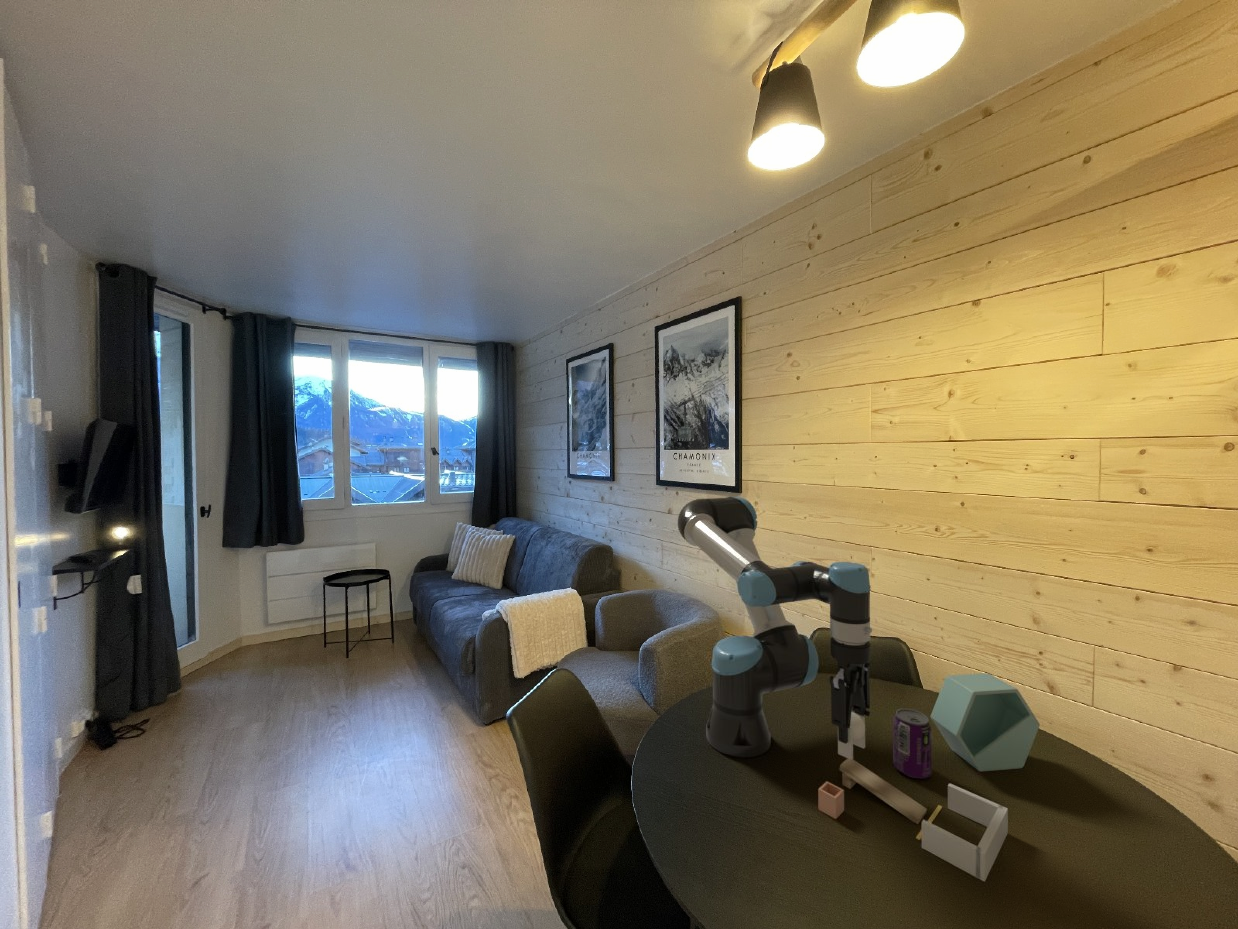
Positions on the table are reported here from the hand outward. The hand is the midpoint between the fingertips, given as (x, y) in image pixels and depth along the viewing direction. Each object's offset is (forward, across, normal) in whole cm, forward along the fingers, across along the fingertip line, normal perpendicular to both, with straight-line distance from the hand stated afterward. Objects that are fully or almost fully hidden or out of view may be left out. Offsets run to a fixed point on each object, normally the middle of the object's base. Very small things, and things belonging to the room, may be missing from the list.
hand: (851, 750), depth 101 cm
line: (+7, 0, -14) cm, 16 cm away
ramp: (+7, 0, -6) cm, 9 cm away
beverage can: (+7, +14, -7) cm, 17 cm away
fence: (+7, 0, -20) cm, 21 cm away
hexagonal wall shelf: (+7, +30, -16) cm, 34 cm away
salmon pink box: (+7, -10, -1) cm, 13 cm away
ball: (-5, 0, 0) cm, 5 cm away
